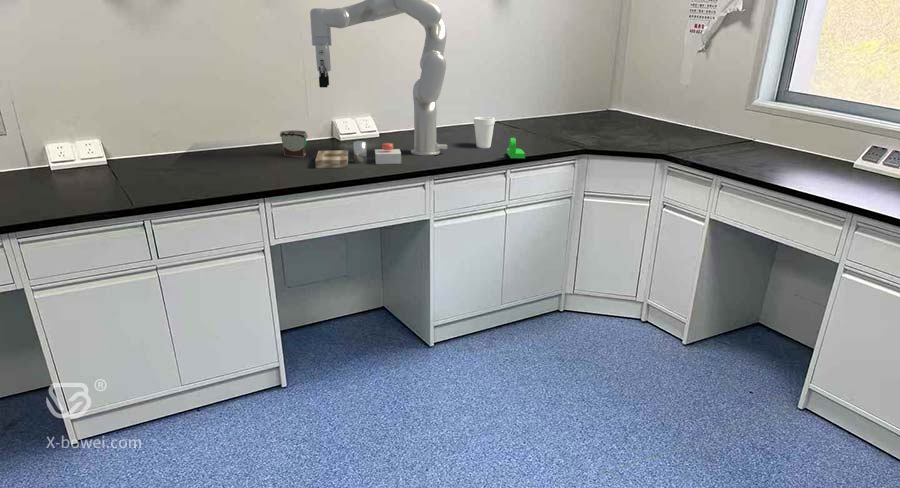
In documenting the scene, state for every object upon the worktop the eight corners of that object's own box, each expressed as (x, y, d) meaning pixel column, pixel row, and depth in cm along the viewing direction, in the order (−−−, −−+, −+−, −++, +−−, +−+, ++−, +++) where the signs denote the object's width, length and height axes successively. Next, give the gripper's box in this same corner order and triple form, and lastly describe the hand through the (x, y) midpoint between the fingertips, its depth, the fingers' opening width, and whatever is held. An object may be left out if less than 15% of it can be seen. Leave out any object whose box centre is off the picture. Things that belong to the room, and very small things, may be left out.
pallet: (348, 157, 250) (348, 150, 249) (347, 167, 231) (347, 159, 230) (318, 158, 248) (318, 150, 247) (315, 168, 230) (315, 160, 229)
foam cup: (483, 149, 269) (483, 120, 265) (469, 146, 276) (469, 118, 272) (498, 147, 275) (499, 118, 271) (483, 144, 282) (484, 116, 278)
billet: (366, 160, 244) (366, 141, 242) (366, 163, 240) (366, 143, 237) (354, 160, 244) (353, 141, 241) (354, 163, 239) (353, 143, 236)
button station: (399, 158, 248) (399, 149, 247) (401, 163, 239) (401, 153, 238) (375, 159, 247) (374, 149, 246) (376, 164, 238) (375, 154, 236)
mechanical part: (524, 158, 252) (525, 139, 250) (510, 158, 252) (511, 139, 250) (520, 152, 264) (521, 134, 261) (506, 152, 264) (507, 134, 261)
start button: (392, 148, 244) (392, 143, 243) (393, 149, 240) (393, 144, 239) (382, 148, 243) (381, 143, 242) (382, 150, 239) (382, 145, 238)
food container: (314, 155, 255) (313, 131, 251) (307, 157, 249) (305, 133, 246) (289, 153, 258) (287, 129, 255) (281, 155, 253) (279, 131, 250)
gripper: (330, 42, 231) (332, 88, 236) (332, 41, 247) (334, 84, 253) (310, 42, 230) (313, 88, 235) (313, 41, 246) (316, 84, 252)
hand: (324, 86), depth 244 cm, fingers open, 9 cm apart
